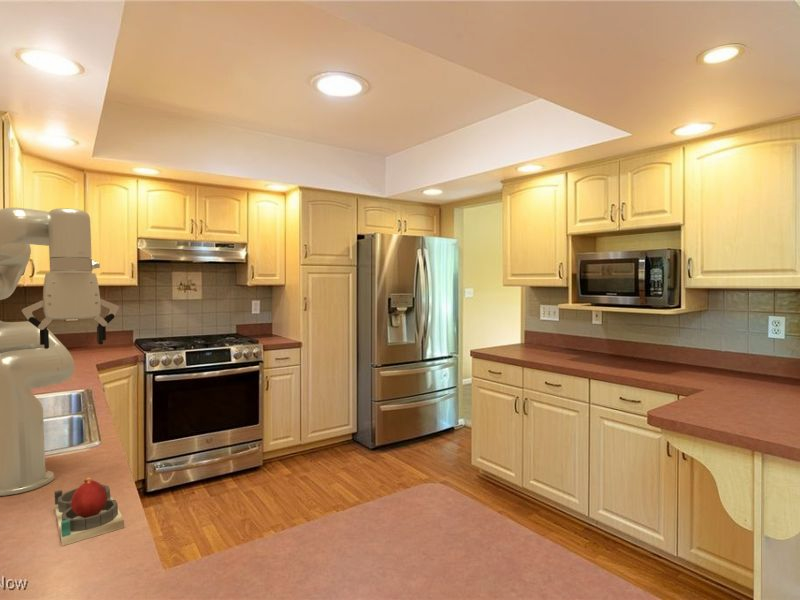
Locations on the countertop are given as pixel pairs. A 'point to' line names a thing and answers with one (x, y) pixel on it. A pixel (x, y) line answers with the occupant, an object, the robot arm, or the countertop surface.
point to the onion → (89, 499)
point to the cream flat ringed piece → (85, 519)
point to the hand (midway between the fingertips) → (74, 346)
